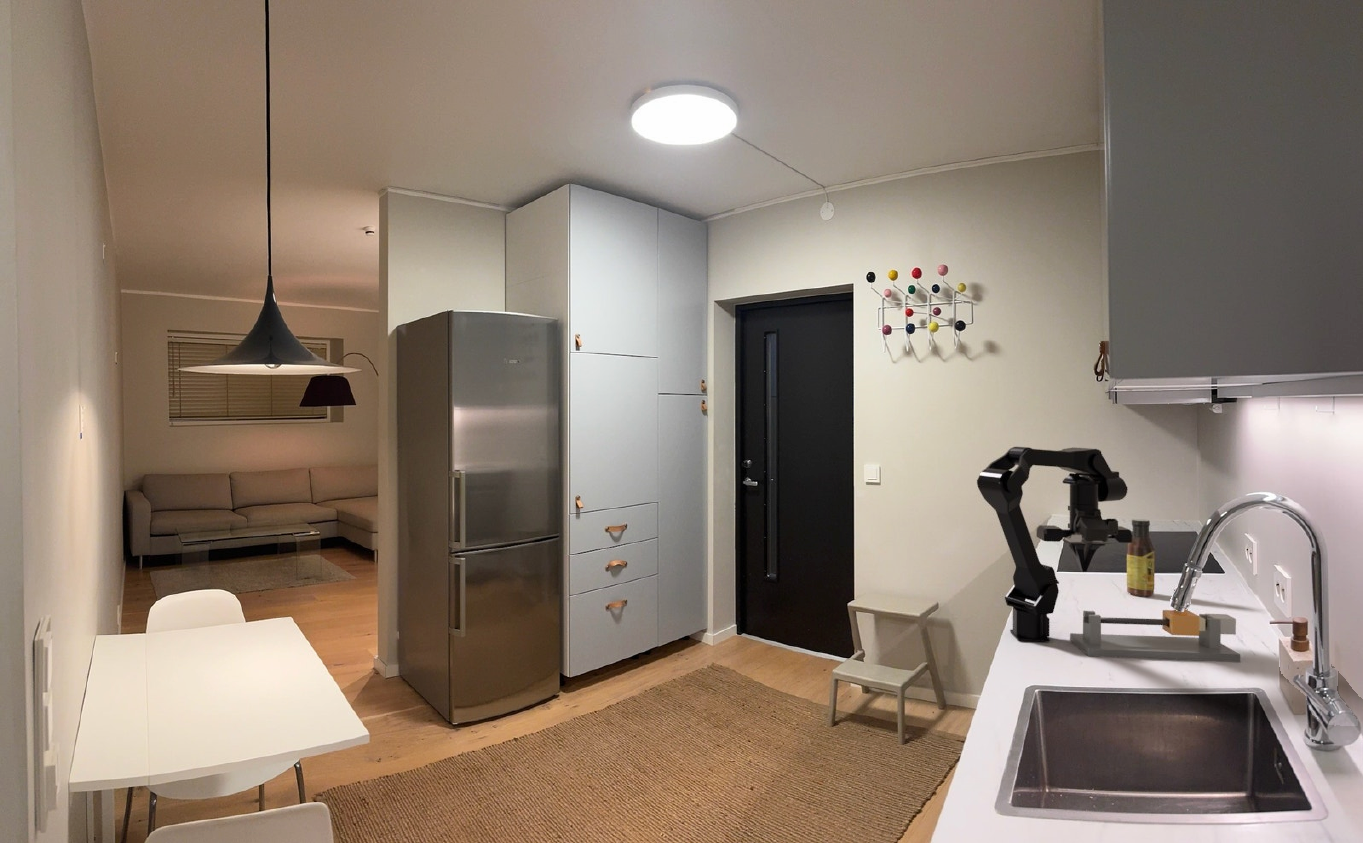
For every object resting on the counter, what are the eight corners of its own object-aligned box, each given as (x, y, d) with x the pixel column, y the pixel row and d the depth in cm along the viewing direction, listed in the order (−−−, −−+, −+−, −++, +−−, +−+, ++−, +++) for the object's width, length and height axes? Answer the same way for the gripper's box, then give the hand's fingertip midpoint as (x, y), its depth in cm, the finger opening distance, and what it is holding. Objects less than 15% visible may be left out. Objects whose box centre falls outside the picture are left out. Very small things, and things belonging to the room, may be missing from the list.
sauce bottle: (1153, 598, 190) (1153, 522, 189) (1125, 595, 194) (1125, 520, 193) (1155, 593, 195) (1155, 519, 195) (1128, 589, 199) (1128, 517, 198)
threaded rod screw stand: (1088, 656, 149) (1088, 619, 149) (1070, 640, 159) (1070, 605, 158) (1245, 662, 144) (1246, 624, 144) (1216, 645, 154) (1217, 609, 154)
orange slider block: (1172, 635, 149) (1172, 593, 149) (1162, 629, 153) (1162, 588, 153) (1199, 636, 148) (1199, 594, 148) (1188, 629, 152) (1188, 589, 152)
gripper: (1052, 508, 159) (1052, 579, 160) (1145, 509, 156) (1145, 581, 157) (1035, 501, 170) (1035, 567, 171) (1122, 501, 167) (1121, 569, 168)
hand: (1083, 571), depth 166 cm, fingers closed
